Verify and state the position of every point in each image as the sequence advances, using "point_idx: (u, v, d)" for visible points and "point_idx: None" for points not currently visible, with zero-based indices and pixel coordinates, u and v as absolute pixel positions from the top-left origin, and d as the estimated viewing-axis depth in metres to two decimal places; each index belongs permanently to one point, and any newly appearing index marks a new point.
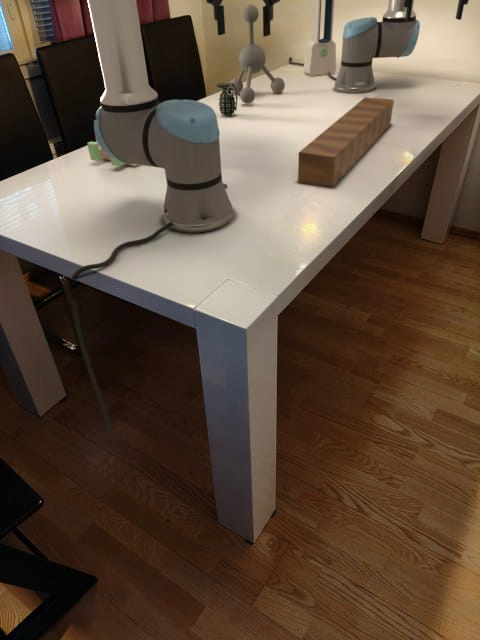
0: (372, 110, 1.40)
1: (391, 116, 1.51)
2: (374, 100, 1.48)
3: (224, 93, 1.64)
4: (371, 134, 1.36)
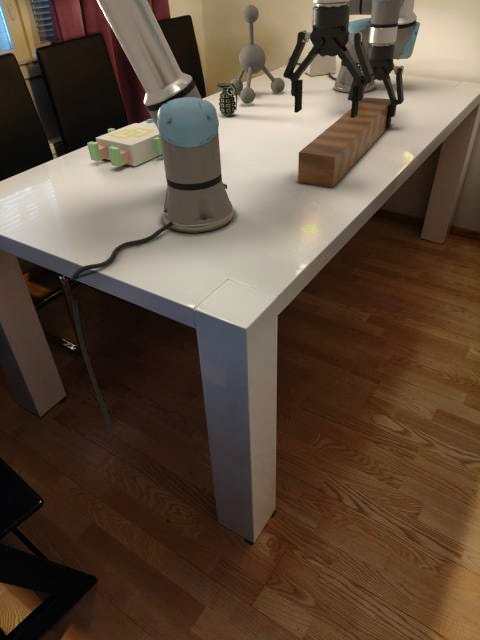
0: (372, 110, 1.40)
1: None
2: (374, 100, 1.48)
3: (224, 93, 1.64)
4: (371, 134, 1.36)
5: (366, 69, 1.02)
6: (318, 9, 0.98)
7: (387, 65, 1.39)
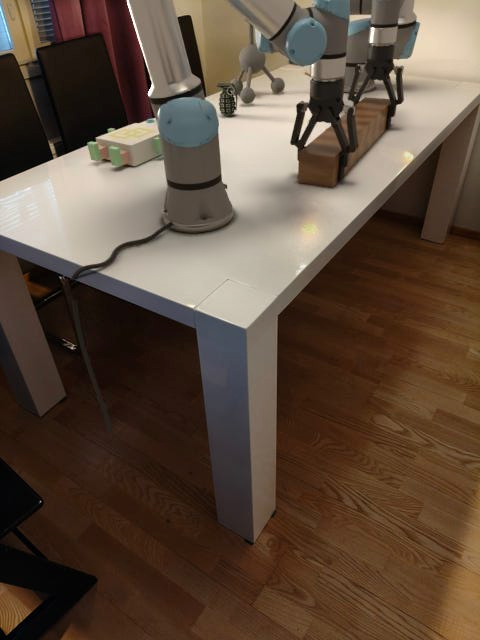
0: (372, 110, 1.40)
1: None
2: (374, 100, 1.48)
3: (224, 93, 1.64)
4: (371, 134, 1.36)
5: (353, 140, 1.12)
6: (315, 83, 1.06)
7: (387, 65, 1.39)
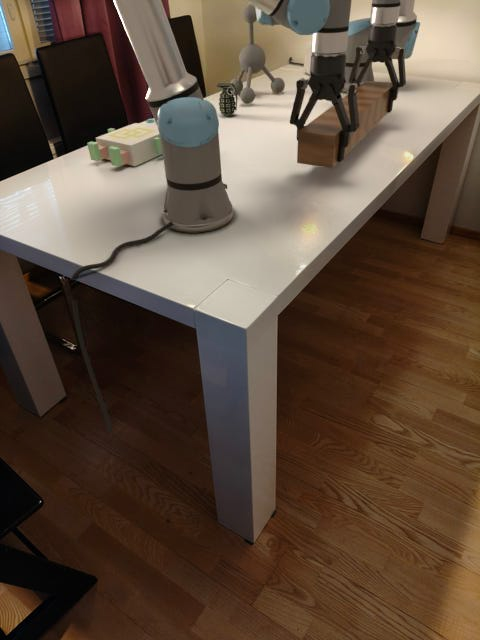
0: (373, 92, 1.37)
1: None
2: (375, 83, 1.46)
3: (224, 93, 1.64)
4: (372, 116, 1.33)
5: (354, 119, 1.09)
6: (316, 58, 1.03)
7: (389, 46, 1.36)
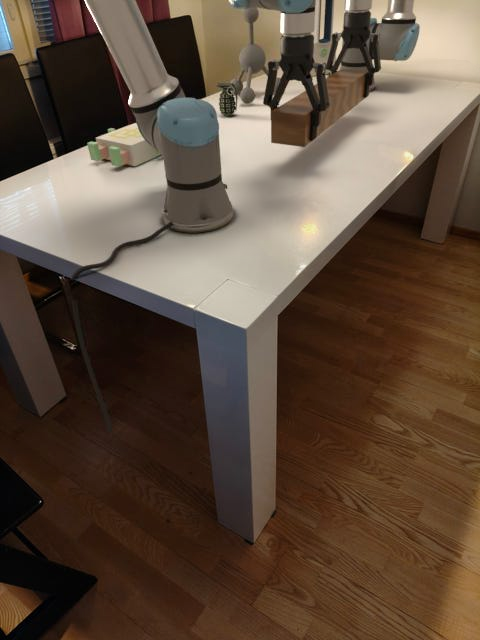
0: (349, 77, 1.41)
1: (369, 86, 1.52)
2: (352, 70, 1.49)
3: (224, 93, 1.64)
4: (347, 100, 1.37)
5: (323, 98, 1.12)
6: (284, 39, 1.07)
7: (363, 32, 1.40)
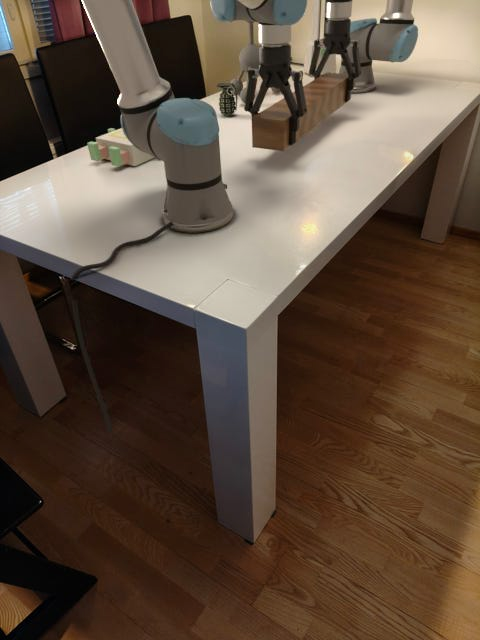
0: (329, 83, 1.46)
1: None
2: (334, 75, 1.55)
3: (224, 93, 1.64)
4: (327, 105, 1.42)
5: (300, 105, 1.18)
6: (262, 49, 1.12)
7: (344, 39, 1.45)
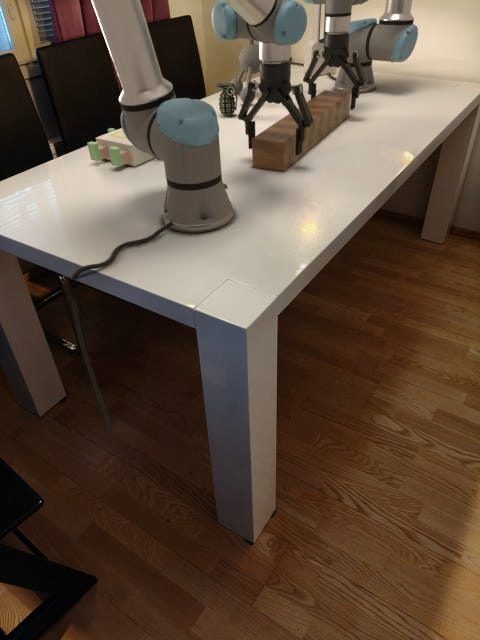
0: (328, 101, 1.50)
1: (349, 108, 1.61)
2: (332, 92, 1.58)
3: (224, 93, 1.64)
4: (326, 123, 1.45)
5: (306, 115, 1.19)
6: (263, 65, 1.15)
7: (343, 52, 1.47)
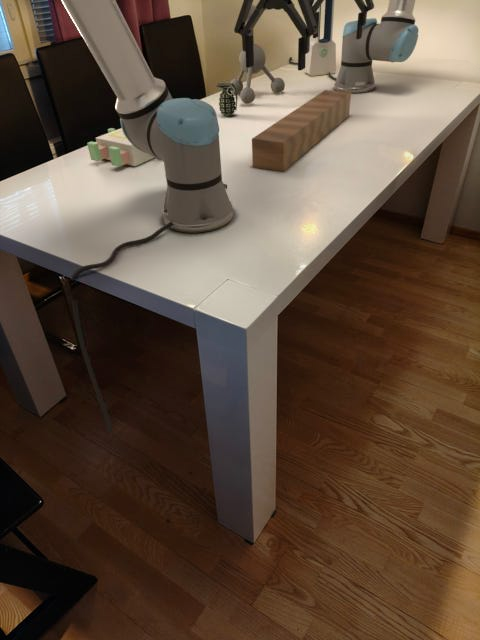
0: (328, 101, 1.50)
1: (349, 108, 1.61)
2: (332, 92, 1.58)
3: (224, 93, 1.64)
4: (326, 123, 1.45)
5: (309, 21, 1.06)
6: None
7: None
